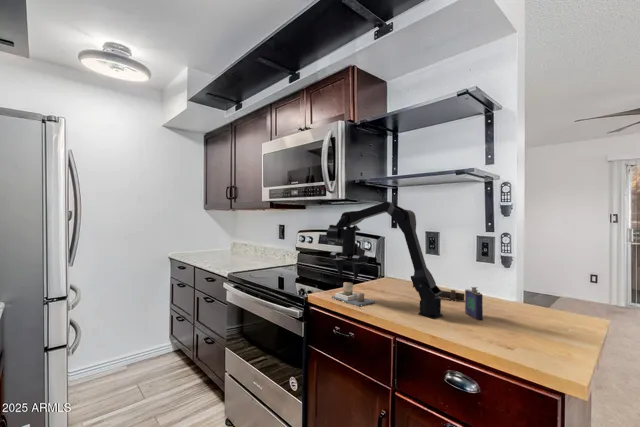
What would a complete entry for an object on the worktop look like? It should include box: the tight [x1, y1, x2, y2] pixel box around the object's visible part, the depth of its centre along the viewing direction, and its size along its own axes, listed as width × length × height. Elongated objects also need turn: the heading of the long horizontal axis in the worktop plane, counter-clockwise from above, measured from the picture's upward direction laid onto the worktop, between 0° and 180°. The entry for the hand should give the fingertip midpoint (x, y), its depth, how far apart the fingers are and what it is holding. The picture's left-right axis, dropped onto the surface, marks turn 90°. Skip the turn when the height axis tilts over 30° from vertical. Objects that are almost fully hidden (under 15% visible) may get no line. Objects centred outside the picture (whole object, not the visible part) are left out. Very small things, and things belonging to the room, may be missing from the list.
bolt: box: [440, 289, 465, 302], centre depth 138 cm, size 6×5×15 cm
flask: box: [464, 286, 484, 322], centre depth 112 cm, size 9×3×11 cm, turn 4°
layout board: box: [331, 291, 376, 307], centre depth 132 cm, size 16×10×4 cm, turn 38°
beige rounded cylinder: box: [342, 281, 354, 296], centre depth 134 cm, size 4×4×6 cm
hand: (348, 277), depth 134 cm, fingers open, 9 cm apart
